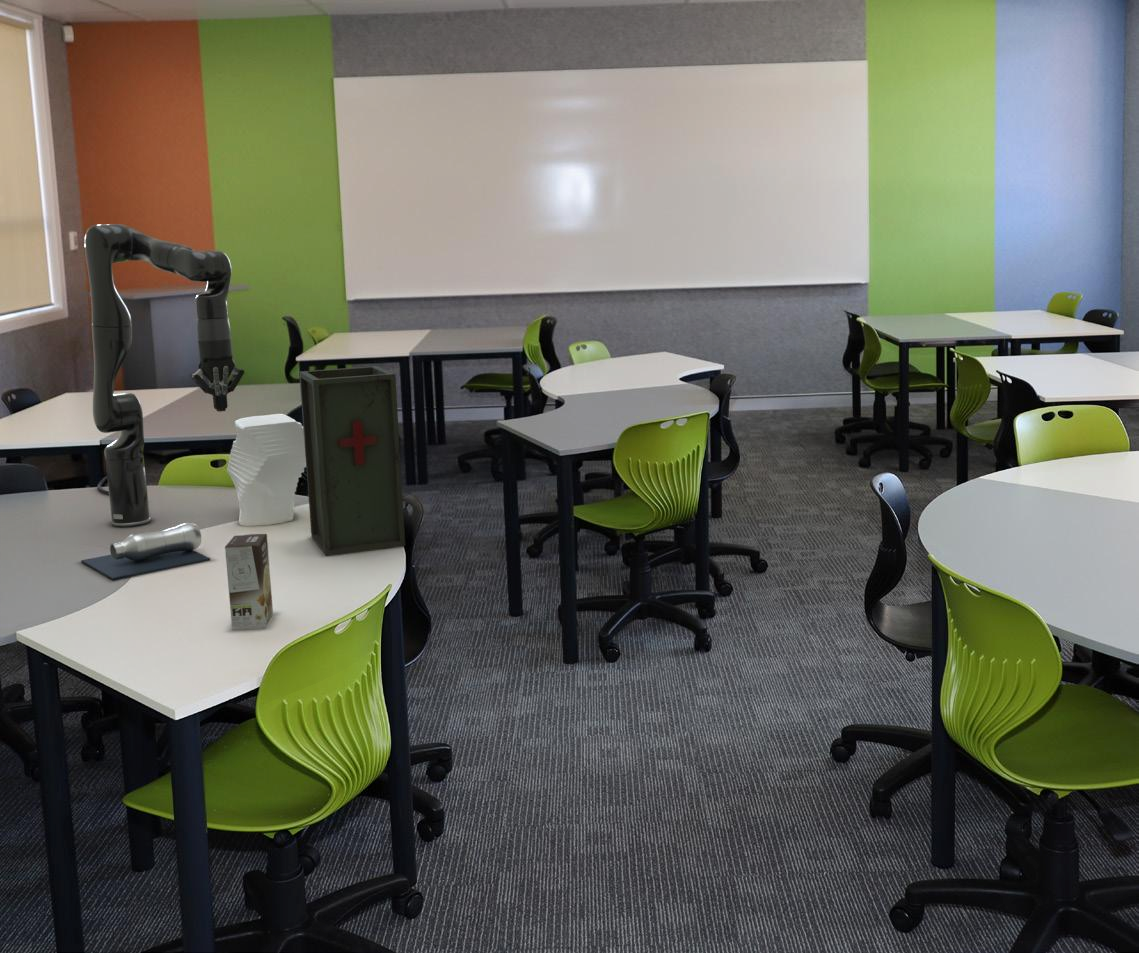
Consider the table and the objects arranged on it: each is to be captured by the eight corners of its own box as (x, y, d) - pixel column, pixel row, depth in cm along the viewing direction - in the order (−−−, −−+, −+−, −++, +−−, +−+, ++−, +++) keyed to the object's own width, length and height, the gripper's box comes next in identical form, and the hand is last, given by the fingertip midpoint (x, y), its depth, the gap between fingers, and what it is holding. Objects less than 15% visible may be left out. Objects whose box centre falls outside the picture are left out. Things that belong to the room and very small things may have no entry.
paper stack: (235, 531, 300) (226, 428, 295) (229, 508, 325) (221, 413, 320) (321, 523, 306) (314, 422, 301) (309, 501, 332) (302, 407, 326)
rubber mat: (81, 562, 276) (81, 560, 276) (175, 544, 289) (175, 542, 289) (112, 580, 261) (112, 578, 260) (210, 560, 274) (210, 558, 274)
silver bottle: (207, 540, 279) (121, 557, 266) (199, 553, 284) (114, 571, 271) (198, 515, 281) (112, 532, 268) (189, 529, 286) (105, 546, 273)
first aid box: (325, 555, 275) (312, 380, 267) (311, 537, 292) (299, 371, 284) (405, 546, 282) (395, 374, 274) (387, 528, 299) (377, 366, 291)
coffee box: (266, 628, 226) (259, 545, 223) (231, 630, 225) (223, 547, 222) (274, 613, 235) (267, 532, 232) (240, 615, 234) (233, 534, 231)
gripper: (234, 334, 291) (240, 406, 295) (180, 339, 283) (187, 412, 287) (248, 336, 286) (254, 409, 289) (193, 340, 277) (200, 416, 281)
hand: (220, 410), depth 288 cm, fingers closed
